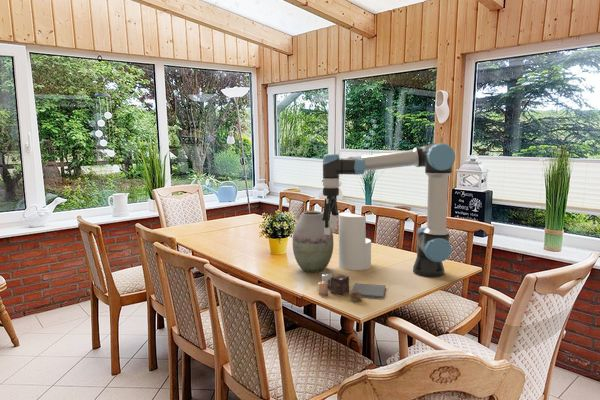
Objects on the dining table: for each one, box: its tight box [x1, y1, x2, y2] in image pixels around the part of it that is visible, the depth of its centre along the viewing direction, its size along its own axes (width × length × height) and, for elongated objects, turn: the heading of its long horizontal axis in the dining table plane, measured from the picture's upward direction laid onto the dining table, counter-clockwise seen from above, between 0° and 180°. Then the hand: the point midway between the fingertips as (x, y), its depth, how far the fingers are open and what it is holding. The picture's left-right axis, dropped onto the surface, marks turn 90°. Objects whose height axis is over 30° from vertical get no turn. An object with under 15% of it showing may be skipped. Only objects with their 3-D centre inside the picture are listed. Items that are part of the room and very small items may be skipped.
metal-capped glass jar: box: [321, 272, 334, 290], centre depth 194 cm, size 5×5×6 cm
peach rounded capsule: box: [317, 280, 328, 296], centre depth 185 cm, size 4×4×5 cm
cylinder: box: [338, 211, 372, 271], centre depth 225 cm, size 17×17×28 cm
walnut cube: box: [349, 289, 362, 303], centre depth 177 cm, size 4×4×4 cm
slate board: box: [351, 282, 387, 300], centre depth 187 cm, size 14×14×1 cm
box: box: [330, 273, 350, 297], centre depth 186 cm, size 6×6×7 cm
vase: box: [292, 210, 335, 274], centre depth 219 cm, size 21×21×30 cm
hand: (330, 231), depth 201 cm, fingers open, 13 cm apart
